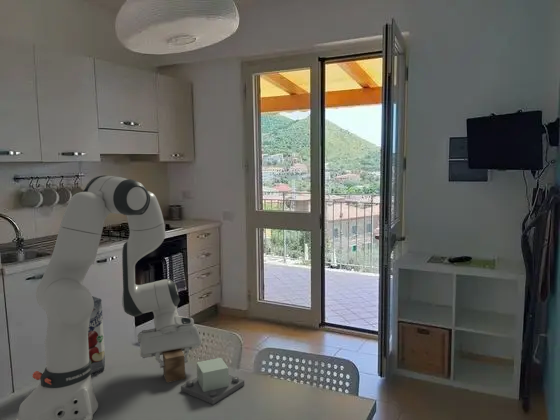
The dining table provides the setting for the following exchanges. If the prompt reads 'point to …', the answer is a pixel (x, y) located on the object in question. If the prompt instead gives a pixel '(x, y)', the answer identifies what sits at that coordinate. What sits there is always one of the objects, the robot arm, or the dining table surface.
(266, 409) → the dining table surface
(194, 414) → the dining table surface
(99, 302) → the juice carton
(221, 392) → the baseplate
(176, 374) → the walnut brick
